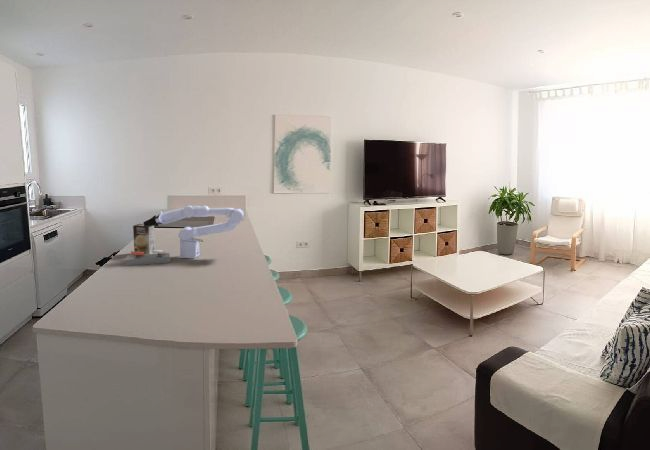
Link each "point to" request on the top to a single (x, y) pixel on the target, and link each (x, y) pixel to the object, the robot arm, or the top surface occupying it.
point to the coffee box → (144, 238)
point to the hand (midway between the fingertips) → (146, 223)
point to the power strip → (147, 259)
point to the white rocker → (158, 251)
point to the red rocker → (137, 253)
